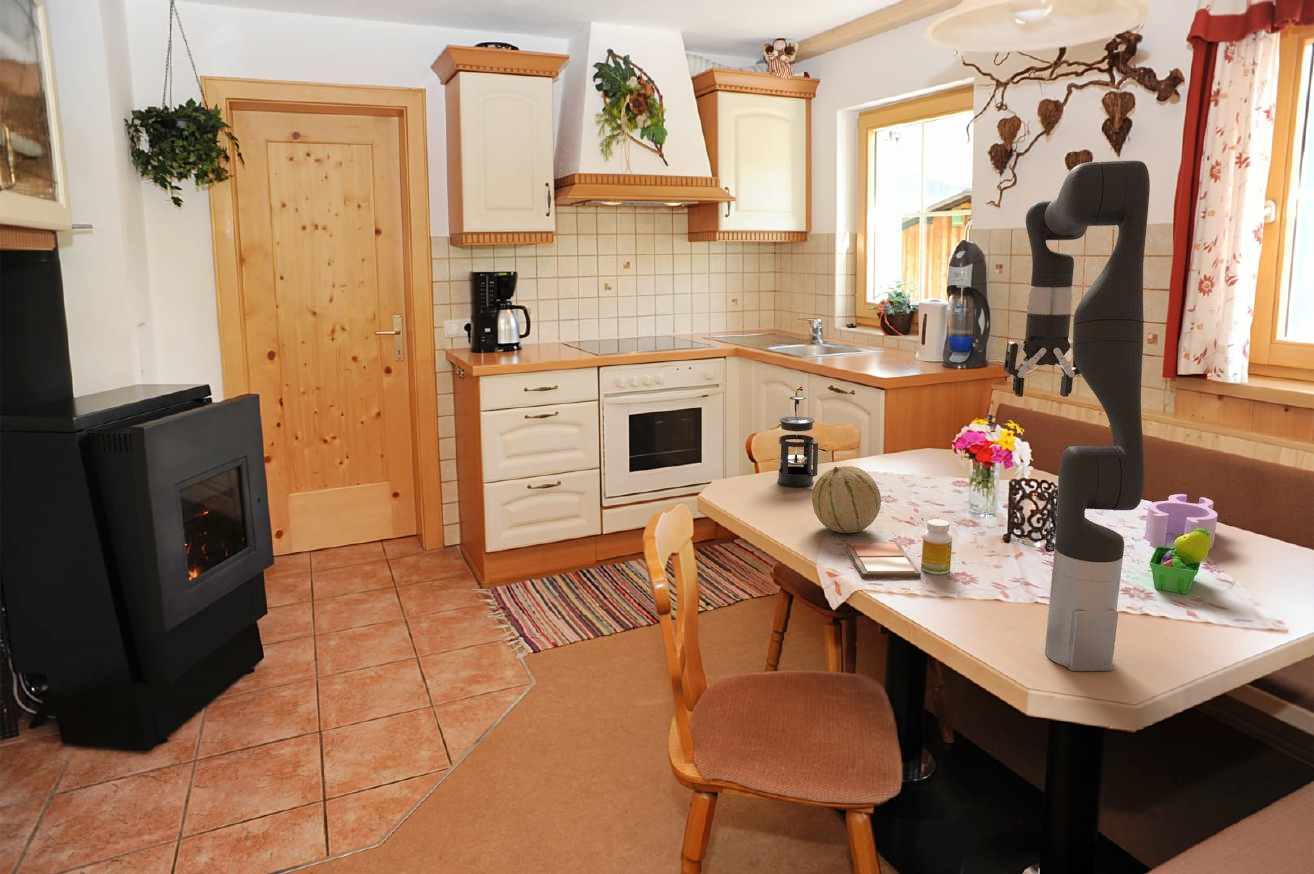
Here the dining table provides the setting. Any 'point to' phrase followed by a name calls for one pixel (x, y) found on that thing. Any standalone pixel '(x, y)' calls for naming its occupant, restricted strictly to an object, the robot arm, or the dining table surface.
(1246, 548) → the dining table surface
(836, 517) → the cantaloupe
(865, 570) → the makeup palette
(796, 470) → the french press
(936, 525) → the supplement bottle
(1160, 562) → the fruit basket
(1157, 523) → the clip
